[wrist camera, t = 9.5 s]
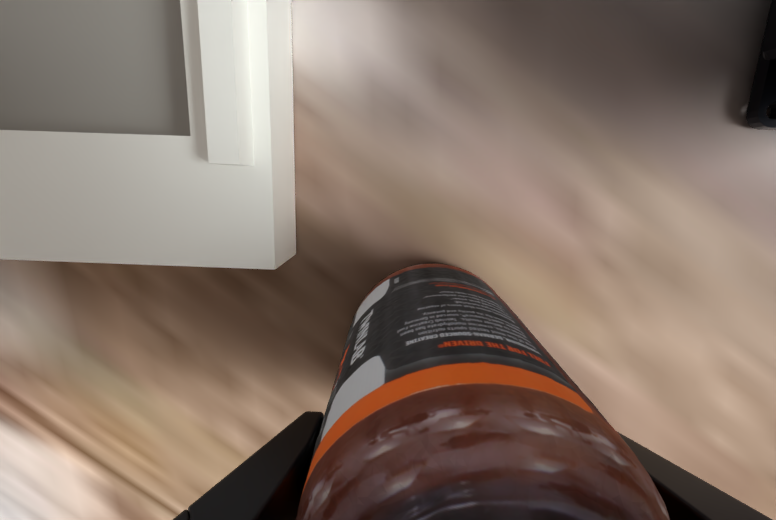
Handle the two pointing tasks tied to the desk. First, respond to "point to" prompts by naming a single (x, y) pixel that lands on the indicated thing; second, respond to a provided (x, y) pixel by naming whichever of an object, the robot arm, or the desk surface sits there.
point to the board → (147, 132)
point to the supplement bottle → (463, 418)
